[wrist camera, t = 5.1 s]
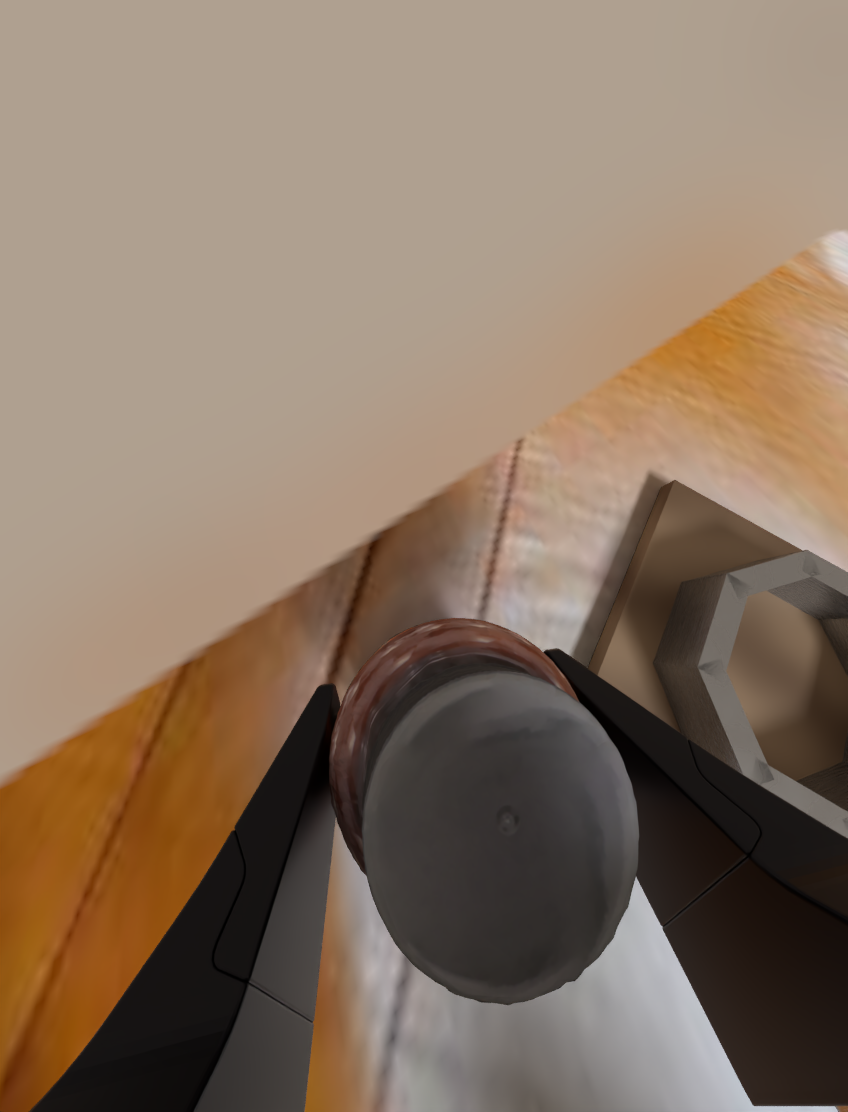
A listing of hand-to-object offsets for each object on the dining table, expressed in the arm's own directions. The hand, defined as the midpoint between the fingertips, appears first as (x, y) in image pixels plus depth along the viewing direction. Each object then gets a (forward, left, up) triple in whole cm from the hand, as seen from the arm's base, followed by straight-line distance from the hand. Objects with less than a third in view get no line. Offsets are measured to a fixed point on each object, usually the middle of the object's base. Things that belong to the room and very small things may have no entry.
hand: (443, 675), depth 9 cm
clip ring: (+8, -16, -6) cm, 19 cm away
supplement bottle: (-1, -1, -7) cm, 7 cm away
